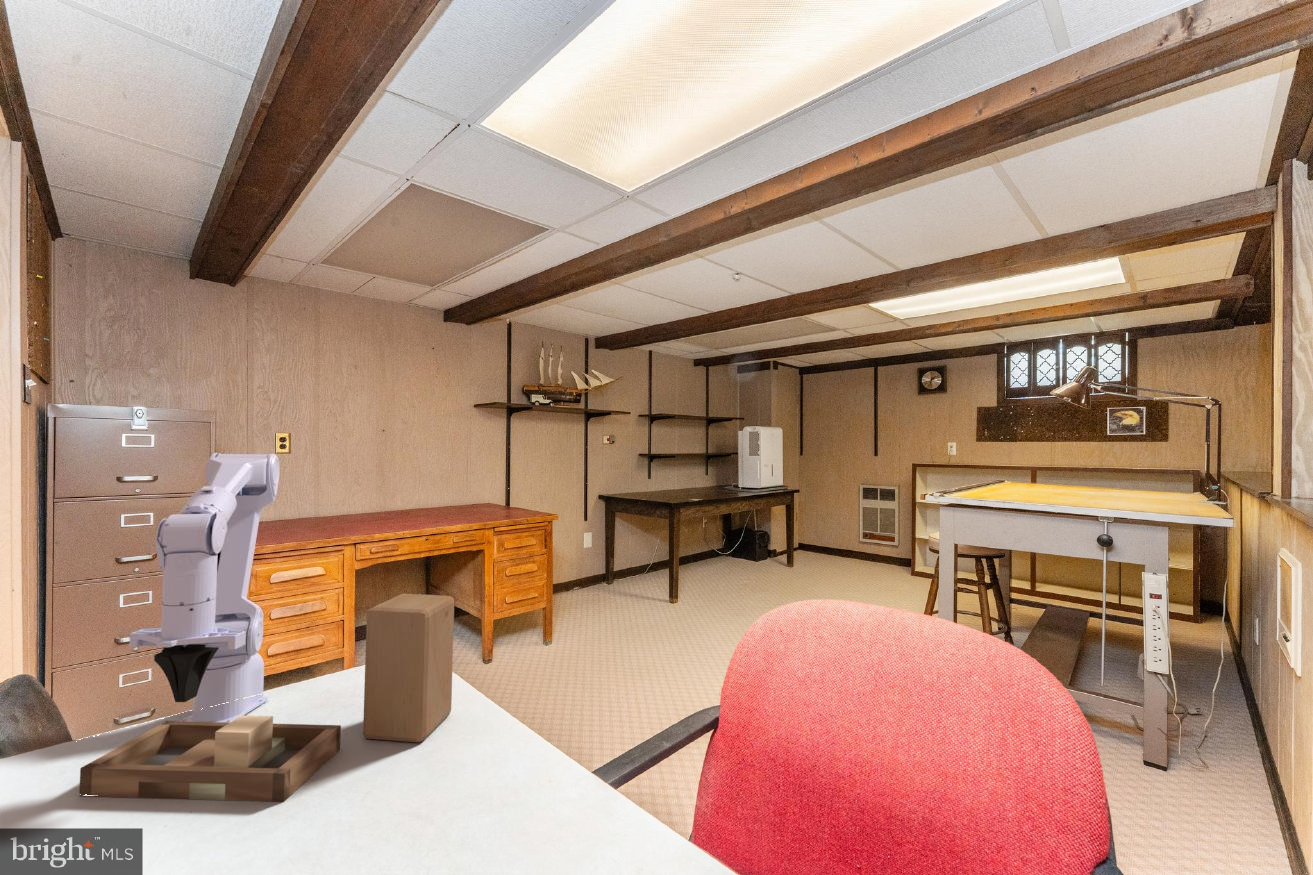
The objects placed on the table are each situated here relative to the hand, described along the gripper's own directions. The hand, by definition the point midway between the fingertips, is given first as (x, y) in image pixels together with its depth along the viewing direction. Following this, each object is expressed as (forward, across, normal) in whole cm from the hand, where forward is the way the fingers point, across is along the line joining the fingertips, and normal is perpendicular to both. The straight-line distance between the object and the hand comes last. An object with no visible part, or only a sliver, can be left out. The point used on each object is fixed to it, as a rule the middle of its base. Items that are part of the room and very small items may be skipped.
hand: (186, 698), depth 76 cm
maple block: (+7, +9, -1) cm, 11 cm away
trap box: (+9, +6, -1) cm, 11 cm away
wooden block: (+10, +26, +12) cm, 30 cm away
